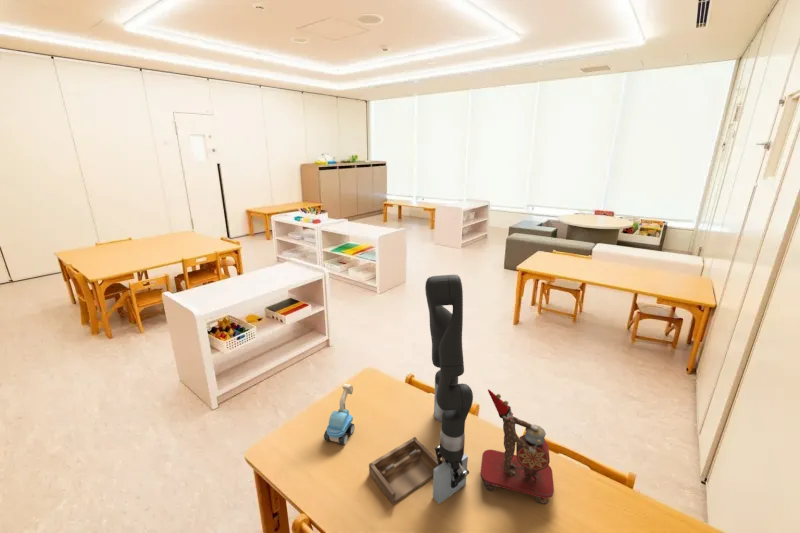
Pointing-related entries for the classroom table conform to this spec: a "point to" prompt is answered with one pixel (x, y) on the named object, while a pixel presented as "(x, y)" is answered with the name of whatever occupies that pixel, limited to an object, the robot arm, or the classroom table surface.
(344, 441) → the toy excavator
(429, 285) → the robot arm
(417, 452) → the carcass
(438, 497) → the blue-gray square slab
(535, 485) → the clown toy
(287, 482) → the classroom table surface
